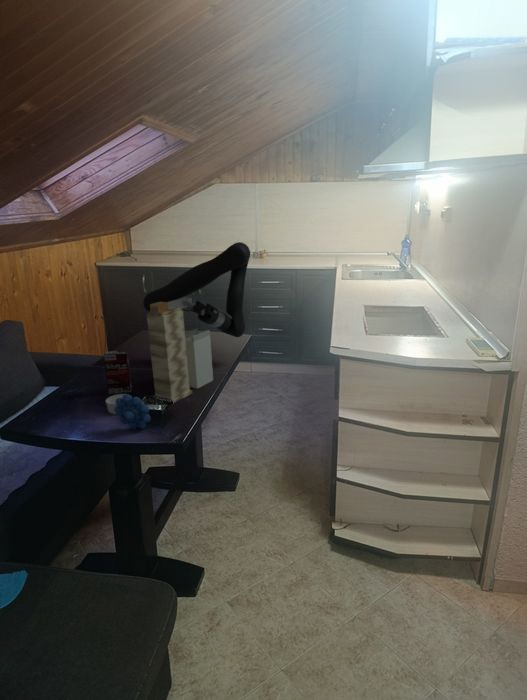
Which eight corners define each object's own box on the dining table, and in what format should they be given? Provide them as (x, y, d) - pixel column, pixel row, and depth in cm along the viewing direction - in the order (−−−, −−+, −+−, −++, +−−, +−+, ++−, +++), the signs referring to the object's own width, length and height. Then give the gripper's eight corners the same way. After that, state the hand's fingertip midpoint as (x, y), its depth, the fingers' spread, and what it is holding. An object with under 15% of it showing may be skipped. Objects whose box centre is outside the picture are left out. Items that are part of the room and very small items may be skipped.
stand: (172, 403, 169) (163, 314, 159) (153, 398, 174) (143, 311, 164) (192, 393, 178) (185, 307, 168) (173, 388, 183) (165, 305, 173)
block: (159, 316, 161) (157, 305, 160) (150, 315, 163) (149, 304, 162) (192, 305, 176) (192, 295, 174) (185, 305, 177) (184, 295, 176)
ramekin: (122, 416, 160) (121, 405, 159) (101, 413, 163) (99, 402, 162) (138, 406, 168) (136, 395, 167) (117, 403, 171) (116, 392, 170)
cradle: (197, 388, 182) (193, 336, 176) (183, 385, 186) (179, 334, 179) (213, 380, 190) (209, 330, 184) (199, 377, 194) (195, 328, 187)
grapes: (111, 434, 147) (106, 399, 144) (120, 425, 154) (115, 391, 150) (147, 435, 146) (142, 400, 142) (154, 425, 152) (150, 391, 149)
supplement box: (108, 394, 179) (102, 355, 174) (109, 390, 184) (104, 351, 179) (131, 392, 181) (126, 353, 176) (132, 387, 185) (127, 349, 180)
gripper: (223, 326, 184) (199, 313, 171) (195, 322, 192) (170, 310, 178) (228, 308, 185) (205, 294, 172) (200, 305, 193) (175, 291, 179)
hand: (187, 302), depth 175 cm, fingers open, 8 cm apart
